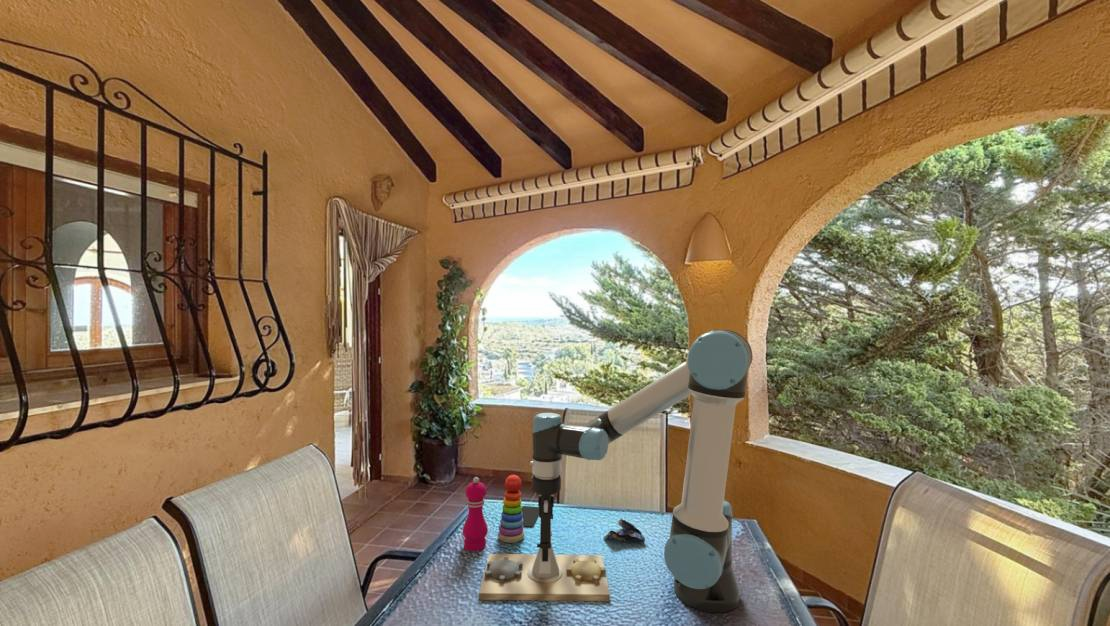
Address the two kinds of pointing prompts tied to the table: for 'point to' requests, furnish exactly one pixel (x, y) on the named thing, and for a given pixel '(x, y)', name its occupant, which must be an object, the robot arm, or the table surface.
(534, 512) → the phone
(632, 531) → the snack package
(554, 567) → the flask
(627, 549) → the table surface
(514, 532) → the stacking toy
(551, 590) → the gear board
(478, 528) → the pepper mill
